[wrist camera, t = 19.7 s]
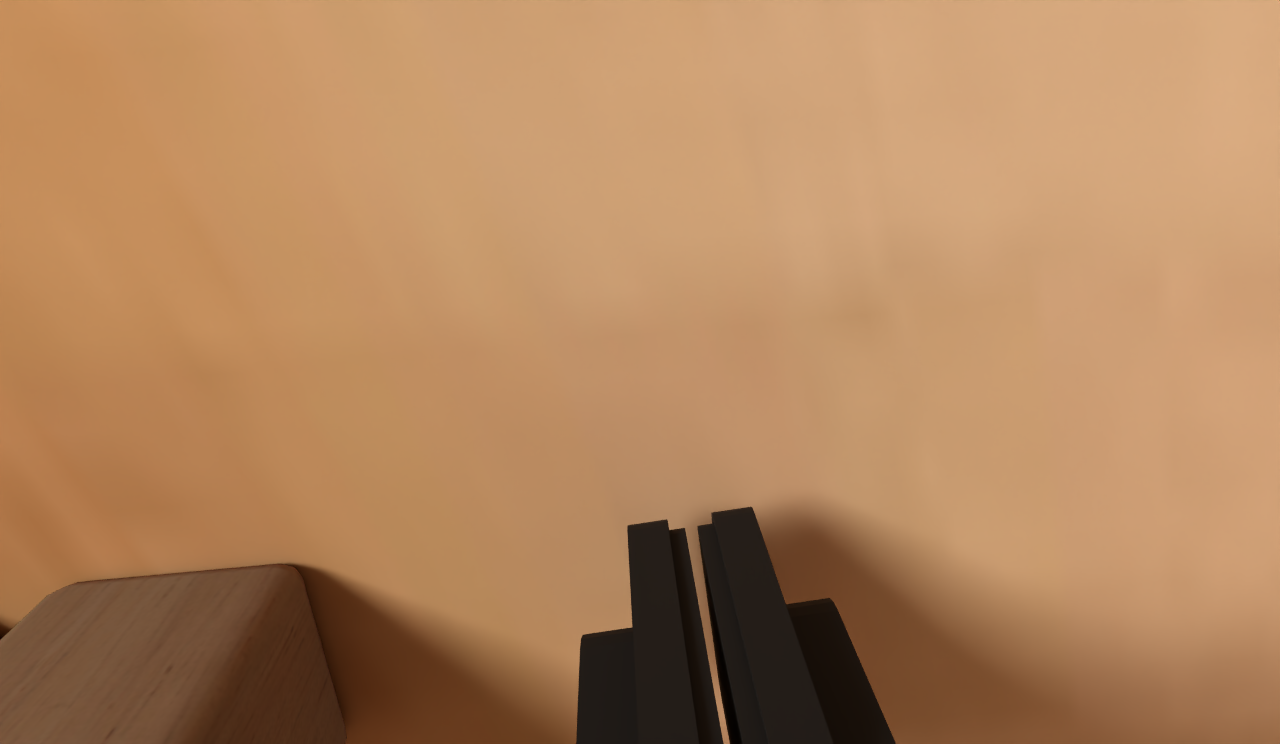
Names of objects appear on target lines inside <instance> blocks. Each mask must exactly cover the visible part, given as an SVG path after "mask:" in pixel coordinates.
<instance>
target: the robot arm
mask: <svg viewBox="0 0 1280 744" xmlns="http://www.w3.org/2000/svg"><path fill="white" fill-rule="evenodd" d="M698 535H699V542H700V549H701V556H702V563H703V571H704V578H705V585H706V592H707V599H708V606H709V614H710V621H711V628H712V635H713V642H714V650H715V657H716V664H717V671H718V678H719V685H720V691H721V697H722V703H723V709H724V714H725V719H726V725H727V730H728V735H729V740H730V744H896V743H895V741H894V738H893V736H892V734H891V731H890V729H889V727H888V725H887V722H886V720H885V718H884V715H883V713H882V711H881V709H880V706H879V704H878V702H877V699H876V697H875V695H874V692H873V690H872V688H871V686H870V683H869V681H868V679H867V676H866V674H865V672H864V669H863V667H862V665H861V663H860V660H859V658H858V656H857V653H856V651H855V649H854V647H853V644H852V642H851V640H850V637H849V635H848V633H847V630H846V628H845V626H844V624H843V621H842V619H841V617H840V614H839V612H838V610H837V608H836V606H835V604H834V602H833V601H832V600H831V599H830V598H826V599H820V600H813V601H806V602H800V603H793V604H785V601H784V598H783V595H782V592H781V589H780V586H779V583H778V580H777V577H776V575H775V572H774V569H773V566H772V563H771V560H770V557H769V554H768V551H767V548H766V545H765V542H764V540H763V537H762V534H761V531H760V528H759V525H758V522H757V519H756V516H755V513H754V511H753V508H752V507H747V508H740V509H733V510H727V511H720V512H713V513H712V524H707V525H701V526H698ZM628 548H629V568H630V587H631V606H632V625H633V627H632V628H625V629H619V630H612V631H605V632H599V633H592V634H585V635H583V636H582V638H581V646H580V667H579V692H578V716H577V741H576V744H723V739H722V733H721V728H720V722H719V717H718V711H717V705H716V700H715V694H714V689H713V683H712V677H711V672H710V666H709V661H708V655H707V649H706V644H705V638H704V633H703V627H702V621H701V616H700V610H699V605H698V599H697V593H696V588H695V582H694V577H693V571H692V565H691V560H690V554H689V549H688V543H687V537H686V532H685V528H681V529H674V530H669V527H668V521H667V520H661V521H654V522H647V523H641V524H634V525H628Z"/></svg>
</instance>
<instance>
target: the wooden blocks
mask: <svg viewBox="0 0 1280 744" xmlns="http://www.w3.org/2000/svg"><path fill="white" fill-rule="evenodd" d="M346 738H347V737H346V729H345V724H344V720H343V717H342V713H341V710H340V706H339V703H338V699H337V696H336V692H335V689H334V685H333V682H332V679H331V675H330V672H329V668H328V665H327V661H326V658H325V654H324V651H323V647H322V644H321V640H320V637H319V633H318V630H317V626H316V623H315V620H314V616H313V613H312V609H311V606H310V602H309V599H308V595H307V592H306V588H305V585H304V581H303V578H302V576H301V575H300V573H299V572H298V571H297V570H296V569H295V567H292V566H287V565H283V564H273V565H262V566H251V567H240V568H229V569H218V570H207V571H196V572H185V573H174V574H162V575H151V576H140V577H129V578H118V579H107V580H96V581H85V582H77V583H74V584H71V585H69V586H66V587H63V588H61V589H59V590H57V591H55V592H53V593H51V594H49V595H47V596H46V597H45V598H44V599H43V600H42V601H41V602H40V603H39V604H38V605H37V606H36V607H35V608H34V609H33V610H32V611H30V612H29V613H28V614H27V615H26V616H25V617H24V618H23V619H22V620H21V621H20V622H19V623H18V624H17V625H16V626H15V627H14V628H12V629H11V630H10V631H9V632H8V633H7V634H6V635H5V636H4V637H3V638H2V639H1V640H0V744H345V742H346Z"/></svg>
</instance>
